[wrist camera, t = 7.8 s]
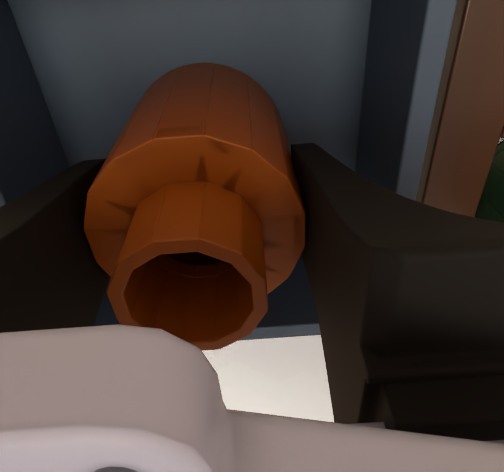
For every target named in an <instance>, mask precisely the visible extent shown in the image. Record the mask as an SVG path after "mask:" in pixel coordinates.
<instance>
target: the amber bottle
mask: <svg viewBox="0 0 504 472" xmlns="http://www.w3.org/2000/svg"><path fill="white" fill-rule="evenodd" d="M305 215H306V213H305V209H304V205H303V201H302V197H301V193H300V189H299V185H298V181H297V178H296V175H295V171H294V167H293V163H292V159H291V153H290V149H289V145H288V141H287V137H286V133H285V129H284V125H283V123H282V120H281V118H280V115H279V113H278V110H277V108H276V106H275V104H274V102H273V100H272V99H271V97H270V96H269V95H268V93H267V92H266V91H265V90H264V89H263V87H262V86H261V85H260V84H259V83H257V82H256V81H255V80H254V79H252V78H251V77H250V76H248V75H246V74H244V73H243V72H241V71H239V70H236V69H234V68H232V67H228V66H225V65H221V64H214V63H195V64H188V65H185V66H181V67H178V68H176V69H173V70H171V71H169V72H167V73H166V74H164V75H163V76H161V77H160V78H158V79H157V80H156V81H155V82H154V83H153V84H151V86H150V87H149V88H148V90H147V91H146V92H145V94H144V95H143V97H142V99H141V100H140V101H139V103H138V104H137V106H136V107H135V109H134V110H133V112H132V114H131V116H130V118H129V119H128V121H127V123H126V125H125V126H124V128H123V130H122V132H121V133H120V135H119V137H118V139H117V141H116V142H115V144H114V146H113V148H112V149H111V151H110V153H109V155H108V157H107V158H106V160H105V162H104V164H103V165H102V167H101V169H100V171H99V173H98V174H97V176H96V178H95V180H94V181H93V183H92V185H91V187H90V188H89V190H88V193H87V200H86V209H85V218H84V232H85V234H86V237H87V239H88V242H89V244H90V247H91V250H92V252H93V255H94V257H95V260H96V262H97V263H98V264H99V265H100V267H101V268H102V269H103V270H104V271H105V272H106V273H107V274H108V275H109V276H110V277H111V279H110V282H109V285H108V288H107V295H108V298H109V300H110V303H111V305H112V308H113V310H114V313H115V316H116V318H117V320H118V321H119V323H121V324H122V325H128V326H138V327H148V328H158V329H162V330H164V331H166V332H168V333H170V334H172V335H174V336H176V337H178V338H180V339H182V340H184V341H187V342H189V343H191V344H193V345H195V346H196V347H198V348H199V349H201V350H215V349H221V348H223V347H225V346H227V345H229V344H231V343H234V342H236V341H238V340H240V339H242V338H244V337H246V336H249V335H250V334H251V333H252V332H253V330H254V329H255V328H256V326H257V325H258V323H259V322H260V321H261V319H262V318H263V317H264V315H265V314H266V313H267V311H268V294H269V293H270V292H271V291H272V290H274V289H275V288H276V287H277V286H279V285H280V284H281V283H282V282H284V281H285V280H286V279H287V278H288V277H289V276H290V274H291V272H292V271H293V269H294V267H295V265H296V263H297V261H298V259H299V257H300V255H301V253H302V252H303V250H304V247H305Z"/></svg>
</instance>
